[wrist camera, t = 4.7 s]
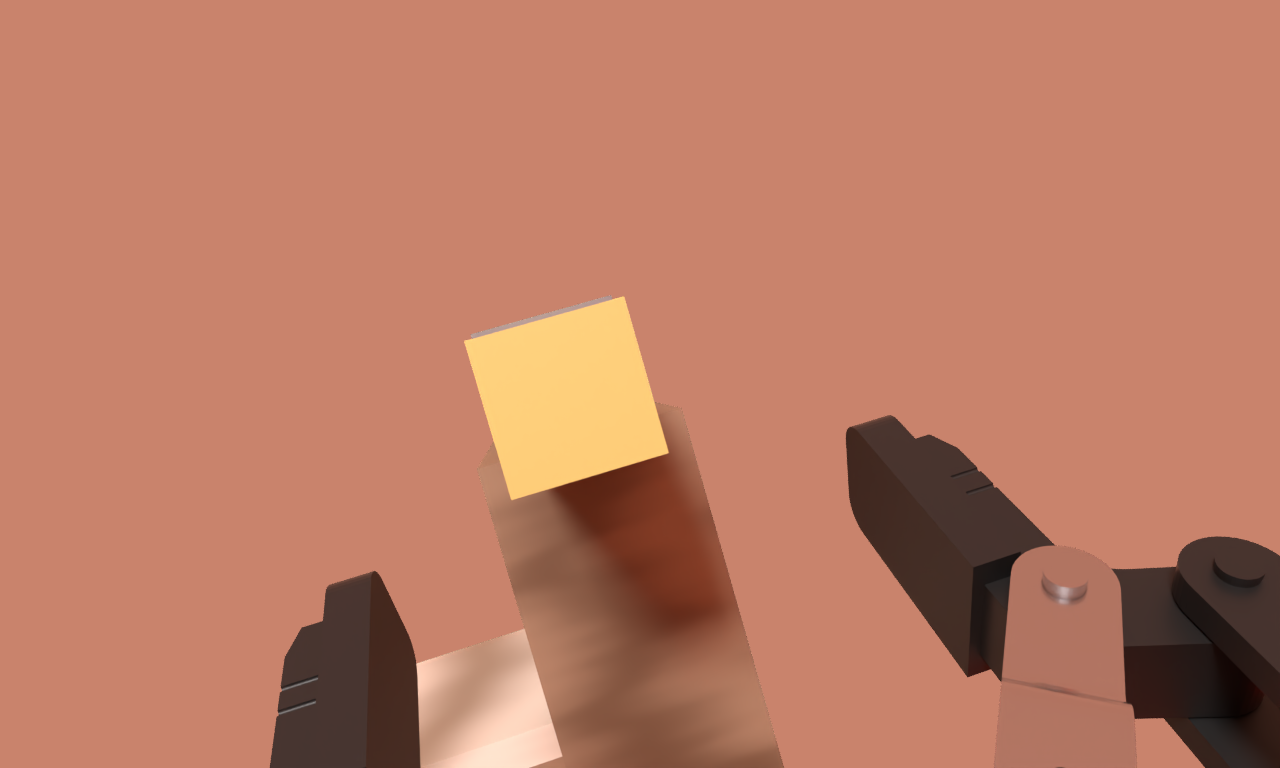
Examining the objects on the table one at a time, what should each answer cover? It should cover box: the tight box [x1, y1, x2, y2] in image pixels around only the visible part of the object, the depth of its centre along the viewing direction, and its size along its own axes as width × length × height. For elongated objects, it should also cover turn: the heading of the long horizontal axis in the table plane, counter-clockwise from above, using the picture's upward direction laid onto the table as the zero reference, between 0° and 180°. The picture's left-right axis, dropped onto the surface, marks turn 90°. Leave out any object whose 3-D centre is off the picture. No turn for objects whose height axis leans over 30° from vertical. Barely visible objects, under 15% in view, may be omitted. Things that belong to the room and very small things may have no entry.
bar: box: [464, 295, 669, 500], centre depth 24 cm, size 5×18×4 cm, turn 6°
